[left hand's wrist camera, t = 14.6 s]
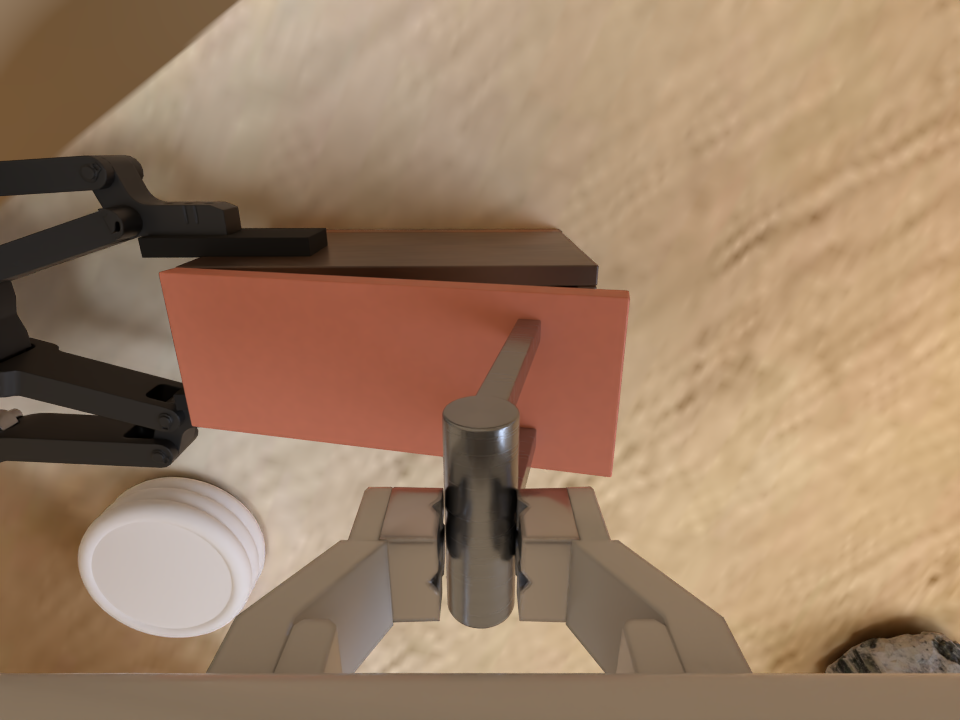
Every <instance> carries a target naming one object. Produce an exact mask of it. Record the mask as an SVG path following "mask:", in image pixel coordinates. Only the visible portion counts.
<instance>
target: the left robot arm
mask: <svg viewBox="0 0 960 720" xmlns="http://www.w3.org/2000/svg"><path fill="white" fill-rule="evenodd" d="M515 516H516V530H515V543H514V562H515V575H516V576H517V599H518V610H519V620H520V621H540V622H566V625H567V626H568V628H569V629H570V630H571V631H572V633H573V634H574V635H575V636H576V638H577V639H578V640H579V641H580V642H581V644H582V645H583V646H584V647H585V649H586V650H587V651H588V652H589V654H590V655H591V656H592V657H593V658H594V660H595V661H596V662H597V663H598V665H599V666H600V667H601V668H602V670H603V671H604V672H605V673H354V672H355V671H356V670H357V668H358V667H359V666H360V665H361V664H362V662H363V661H364V660H365V659H366V657H367V656H368V655H369V654H370V653H371V651H372V650H373V649H374V648H375V647H376V645H377V644H378V643H379V642H380V640H381V639H382V638H383V637H384V636H385V634H386V633H387V632H388V631H389V629H390V628H391V627H392V626H393V622H418V621H440V611H441V600H442V576H443V575H444V564H445V525H444V524H443V517H444V491H443V488H410V487H394V488H392V487H368V488H367V489H366V490H365V492H364V495H363V498H362V501H361V504H360V506H359V509H358V512H357V515H356V518H355V521H354V524H353V527H352V530H351V533H350V536H349V539H348V540H341V541H339V542H338V543H336V544H335V545H334V546H332V547H331V548H329V549H328V550H327V551H325V552H324V553H323V554H321V555H320V556H318V557H317V558H316V559H314V560H313V561H312V562H310V563H309V564H307V565H306V566H305V567H303V568H302V569H301V570H299V571H298V572H297V573H295V574H294V575H292V576H291V577H290V578H288V579H287V580H286V581H284V582H283V583H281V584H280V585H279V586H277V587H276V588H275V589H273V590H272V591H270V592H269V593H268V594H266V595H265V596H264V597H262V598H261V599H259V600H258V601H257V602H255V603H254V604H253V605H251V606H250V607H248V608H247V609H246V610H244V611H243V612H242V613H240V614H239V615H238V616H236V617H235V619H234V621H233V623H232V625H231V627H230V629H229V631H228V632H227V634H226V636H225V638H224V640H223V642H222V644H221V646H220V648H219V649H218V651H217V653H216V655H215V657H214V659H213V661H212V663H211V665H210V666H209V668H208V670H207V672H206V673H0V720H960V673H752V671H751V669H750V667H749V665H748V664H747V662H746V660H745V658H744V656H743V654H742V652H741V650H740V648H739V646H738V644H737V642H736V640H735V639H734V637H733V635H732V633H731V631H730V629H729V627H728V625H727V623H726V621H725V619H724V618H723V617H722V616H721V615H719V614H718V613H717V612H715V611H714V610H713V609H711V608H710V607H708V606H707V605H706V604H704V603H703V602H702V601H700V600H699V599H698V598H696V597H695V596H694V595H692V594H691V593H689V592H688V591H687V590H685V589H684V588H683V587H681V586H680V585H679V584H677V583H676V582H674V581H673V580H672V579H670V578H669V577H668V576H666V575H665V574H664V573H662V572H661V571H659V570H658V569H657V568H655V567H654V566H653V565H651V564H650V563H649V562H647V561H646V560H644V559H643V558H642V557H640V556H639V555H638V554H636V553H635V552H634V551H632V550H631V549H629V548H628V547H627V546H625V545H624V544H623V543H621V542H620V541H618V540H611V539H610V536H609V533H608V530H607V527H606V524H605V521H604V518H603V516H602V513H601V510H600V507H599V504H598V501H597V498H596V495H595V492H594V489H593V488H591V487H567V488H539V489H516V506H515Z"/></svg>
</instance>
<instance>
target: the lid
mask: <svg viewBox="0 0 960 720" xmlns="http://www.w3.org/2000/svg"><path fill="white" fill-rule="evenodd" d="M159 277H160V282H161V286H162V291H163V295H164V300H165V304H166V309H167V314H168V318H169V323H170V327H171V332H172V337H173V341H174V346H175V350H176V355H177V359H178V364H179V369H180V373H181V378H182V382H183V387H184V391H185V396H186V401H187V405H188V410H189V414H190V419H191V424H192V426H195V427H204V428H212V429H220V430H228V431H236V432H245V433H253V434H261V435H269V436H278V437H286V438H294V439H302V440H310V441H319V442H327V443H335V444H343V445H351V446H360V447H368V448H376V449H384V450H392V451H401V452H409V453H417V454H425V455H433V456H442V457H443V466H444V500H445V535H446V569H447V602H448V608H449V610H450V612H451V614H452V615H453V617H454V618H455V619H456V620H457V621H459V622H460V623H462V624H464V625H466V626H469V627H472V628H490V627H493V626H496V625H498V624H500V623H502V622H503V621H505V620H506V619H507V618H508V617H509V615H510V614H511V612H512V610H513V607H514V601H515V562H514V543H515V530H516V516H515V506H516V489H525V487H526V483H527V479H528V475H529V471H530V467H532V468H540V469H548V470H557V471H565V472H573V473H581V474H589V475H598V476H606V477H611V476H612V468H613V459H614V449H615V439H616V429H617V420H618V410H619V400H620V390H621V381H622V371H623V361H624V352H625V342H626V332H627V322H628V313H629V303H630V296H629V291H624V290H605V289H585V288H566V287H547V286H527V285H508V284H488V283H469V282H449V281H430V280H410V279H391V278H372V277H352V276H333V275H313V274H294V273H274V272H255V271H236V270H216V269H197V268H173V269H169V270H166V271H162V272H159Z"/></svg>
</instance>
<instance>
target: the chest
mask: <svg viewBox="0 0 960 720" xmlns="http://www.w3.org/2000/svg"><path fill="white" fill-rule="evenodd" d="M326 232H327V242H328V245H327V246H326V247H324V248H323V249H321V250H320V251H318V252H317V253H315V254H313V255H312V256H310V257H200V258H197V259H195V260H192V261H190V262H187V263H185V264H182V265H179V266H177V267H176V268H197V269H216V270H236V271H255V272H274V273H294V274H313V275H333V276H352V277H372V278H391V279H410V280H430V281H449V282H469V283H488V284H508V285H527V286H547V287H566V288H585V289H597V288H596V285H597V279H598V265H597V264H596V263H595V262H594V261H593V260H591V259H590V258H589V257H588V256H587V255H586V254H585V253H584V252H583V251H582V250H580V249H579V248H578V247H577V246H576V245H575V244H574V243H573V242H572V241H571V240H569V239H568V238H567V237H566V236H565V235H564V234H563V233H562V231H561V230H559V229H421V230H326Z"/></svg>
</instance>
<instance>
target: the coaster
mask: <svg viewBox="0 0 960 720" xmlns="http://www.w3.org/2000/svg"><path fill="white" fill-rule="evenodd" d="M264 561H265V541H264V537H263V534H262V531H261V528H260V526H259V524H258V523H257V521H256V519H255V518H254V516H253V515H252V514H251V512H250V511H249V510H248V509H247V508H246V507H245V506H244V505H243V504H242V503H241V502H240V501H239V500H237V499H236V498H235V497H234V496H232V495H231V494H229V493H227V492H226V491H224V490H222V489H220V488H218V487H216V486H214V485H211V484H209V483H206V482H202V481H199V480H195V479H189V478H181V477H163V478H156V479H152V480H148V481H145V482H142V483H140V484H137V485H135V486H133V487H131V488H130V489H128V490H126V491H125V492H124V493H122V494H121V495H120V496H119V497H118V498H117V499H116V500H115V501H114V502H113V503H112V504H111V505H110V506H109V507H107V508H106V510H105V511H104V512H103V513H102V514H101V515H100V516H99V517H98V518H96V519H95V520H94V521H93V522H92V524H91V525H90V526H89V527H88V529H87V531H86V532H85V534H84V536H83V538H82V540H81V543H80V546H79V550H78V567H79V572H80V575H81V578H82V581H83V583H84V585H85V587H86V589H87V591H88V592H89V594H90V595H91V597H92V598H93V599H94V601H95V602H96V603H97V604H98V605H99V606H100V607H101V608H102V609H103V610H104V611H105V612H107V613H108V614H109V615H110V616H112V617H113V618H115V619H116V620H118V621H119V622H121V623H123V624H125V625H127V626H129V627H131V628H133V629H136V630H138V631H141V632H144V633H148V634H152V635H156V636H163V637H175V638H176V637H192V636H199V635H203V634H207V633H210V632H213V631H215V630H217V629H219V628H221V627H223V626H225V625H226V624H228V623H229V622H230V621H231V620H232V619H233V618H234V617H236V616H237V615H238V614H239V613H240V611H241V610H242V609H243V607H244V606H245V604H246V602H247V600H248V598H249V595H250V593H251V592H252V590H253V588H254V586H255V584H256V581H257V580H258V578H259V576H260V574H261V572H262V569H263V566H264Z"/></svg>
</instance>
